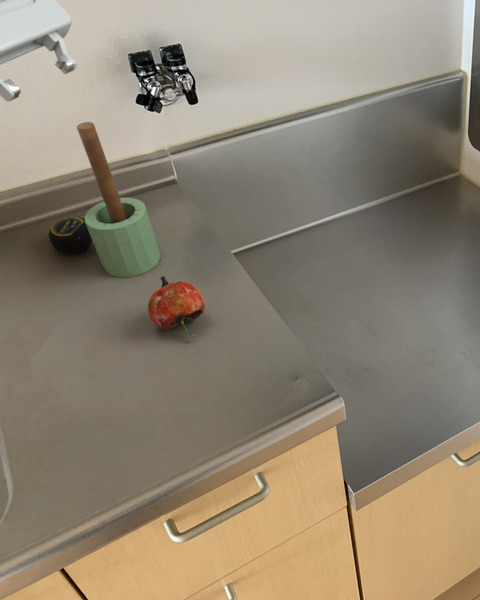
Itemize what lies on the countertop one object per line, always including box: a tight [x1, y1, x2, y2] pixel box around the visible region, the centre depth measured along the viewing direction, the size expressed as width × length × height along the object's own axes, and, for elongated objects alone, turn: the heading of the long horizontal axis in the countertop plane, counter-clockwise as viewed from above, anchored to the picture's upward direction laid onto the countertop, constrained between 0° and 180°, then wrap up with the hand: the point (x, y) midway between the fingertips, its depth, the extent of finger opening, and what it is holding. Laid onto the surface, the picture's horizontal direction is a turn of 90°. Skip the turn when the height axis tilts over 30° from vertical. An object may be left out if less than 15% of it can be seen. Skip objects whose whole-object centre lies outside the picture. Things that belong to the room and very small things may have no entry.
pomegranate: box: [147, 275, 206, 343], centre depth 84 cm, size 7×7×10 cm
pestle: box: [76, 121, 128, 224], centre depth 90 cm, size 4×4×22 cm
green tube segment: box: [84, 197, 161, 278], centre depth 95 cm, size 9×9×9 cm
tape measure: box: [48, 216, 93, 255], centre depth 99 cm, size 7×7×4 cm
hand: (44, 82), depth 78 cm, fingers open, 8 cm apart
